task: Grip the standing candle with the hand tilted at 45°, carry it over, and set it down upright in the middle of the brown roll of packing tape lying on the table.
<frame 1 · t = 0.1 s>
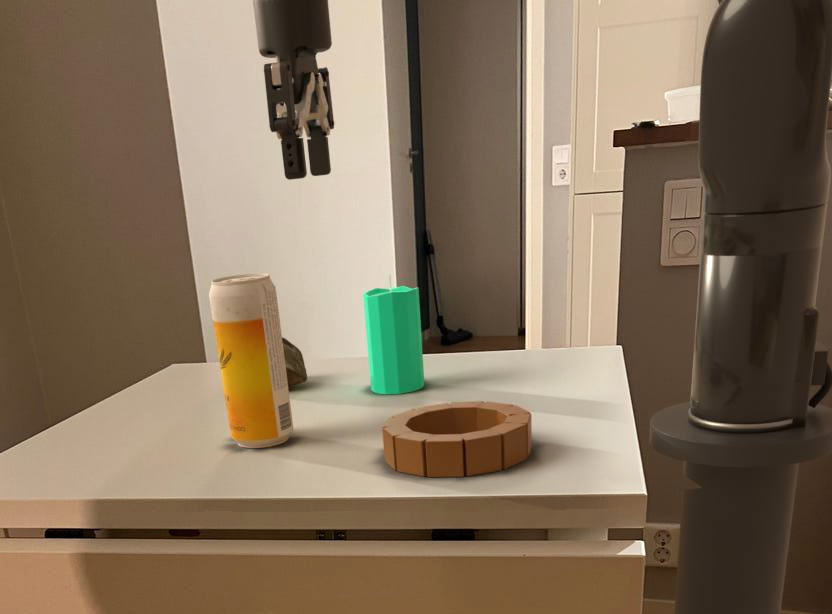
hand: (309, 177, 103), 22 cm above the table, tool pointing down, fingers open, 8 cm apart
beer can: (263, 442, 93), on the table
candle: (398, 389, 107), on the table
fossilized seashell: (273, 388, 114), on the table
tape roll: (457, 454, 83), on the table
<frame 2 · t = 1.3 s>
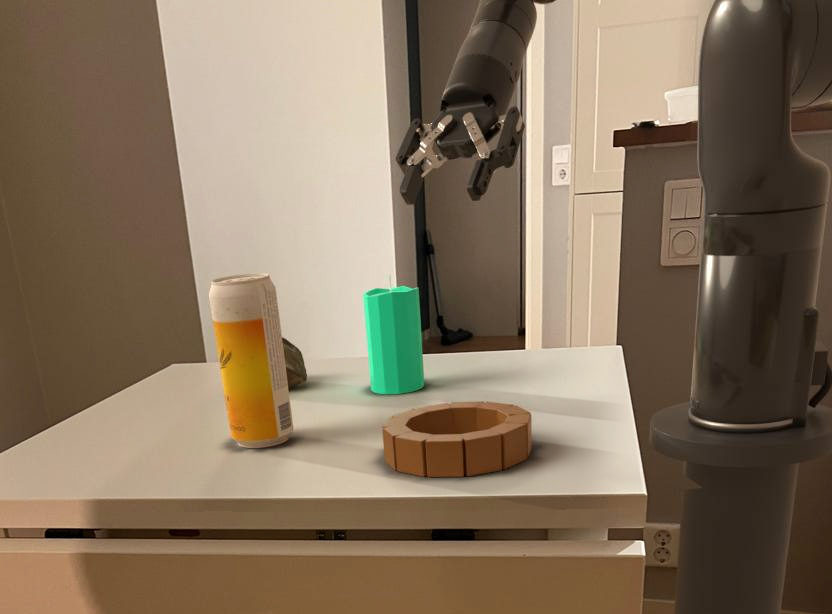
hand: (439, 197, 107), 18 cm above the table, tool tilted 45°, fingers open, 8 cm apart
nothing on the table moved.
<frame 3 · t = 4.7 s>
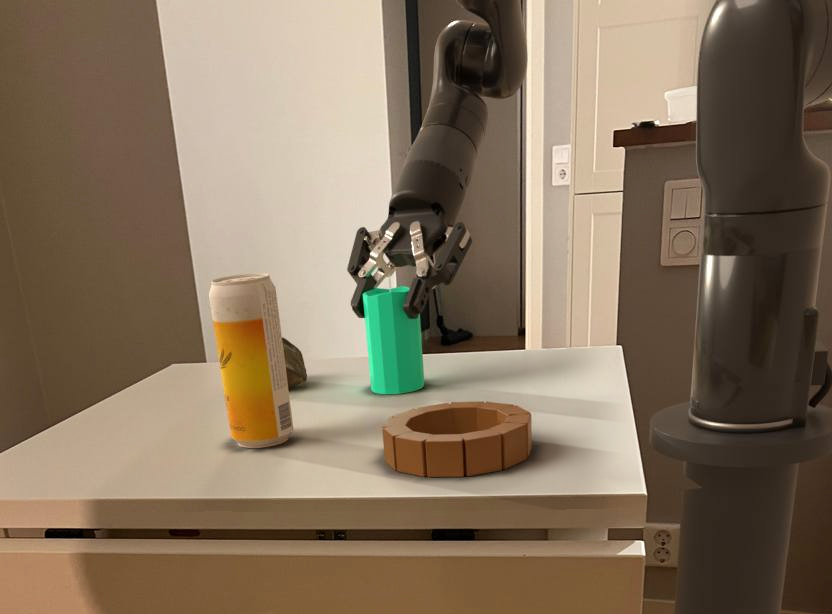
hand: (383, 313, 102), 8 cm above the table, tool tilted 45°, fingers closed on candle, 6 cm apart
candle: (398, 389, 107), on the table, touching gripper
everything else where it was.
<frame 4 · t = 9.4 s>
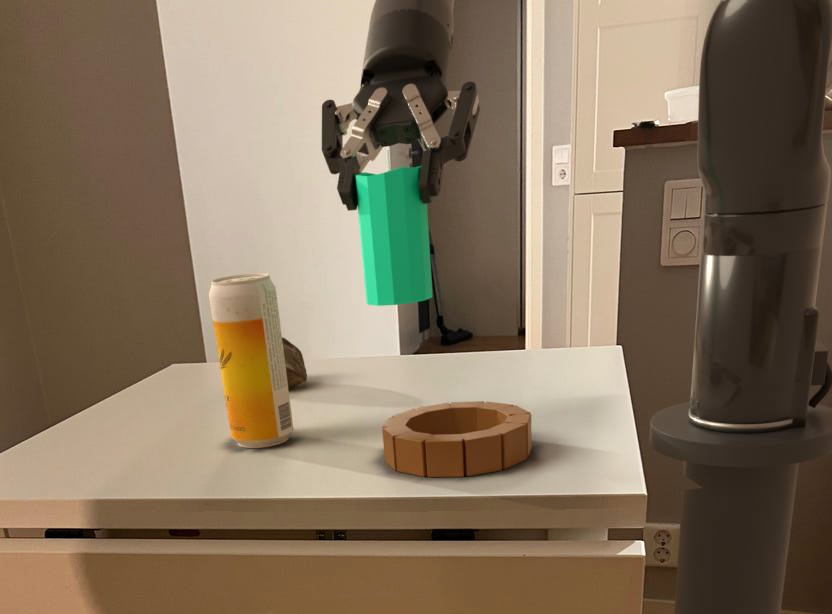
hand: (387, 199, 80), 20 cm above the table, tool tilted 45°, fingers closed on candle, 6 cm apart
candle: (399, 302, 85), point 12 cm above the table, touching gripper
everything else where it was.
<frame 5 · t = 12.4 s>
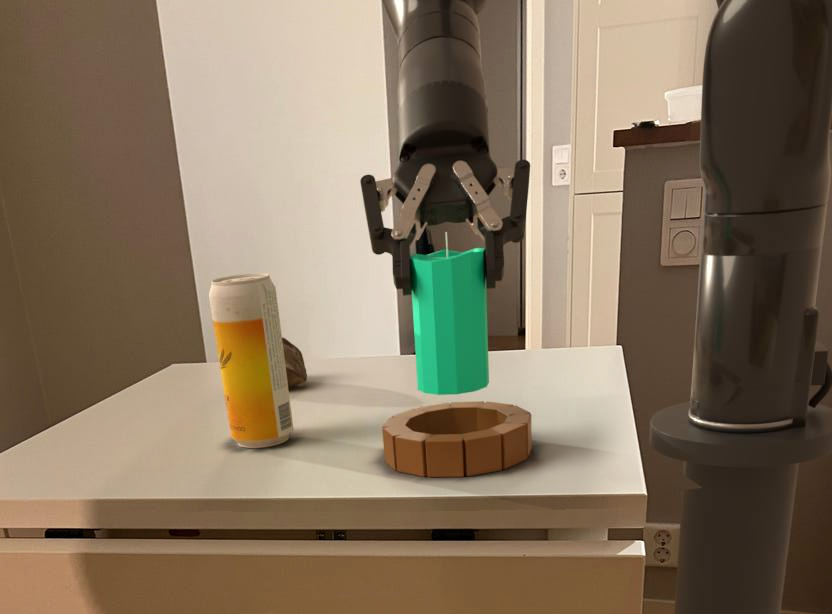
hand: (449, 285, 75), 14 cm above the table, tool tilted 45°, fingers closed on candle, 6 cm apart
candle: (453, 388, 80), point 6 cm above the table, touching gripper
everything else where it was.
when the fingers open (8 cm above the table, at t = 14.6 s): candle stays where it is, resting in tape roll.
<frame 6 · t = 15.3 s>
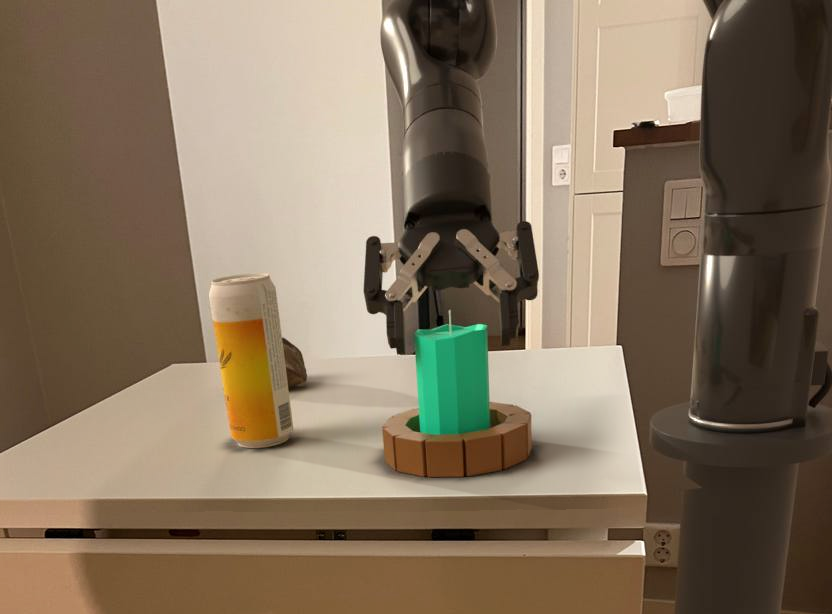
hand: (453, 344, 77), 10 cm above the table, tool tilted 45°, fingers open, 8 cm apart
candle: (456, 456, 83), resting in tape roll
everything else where it was.
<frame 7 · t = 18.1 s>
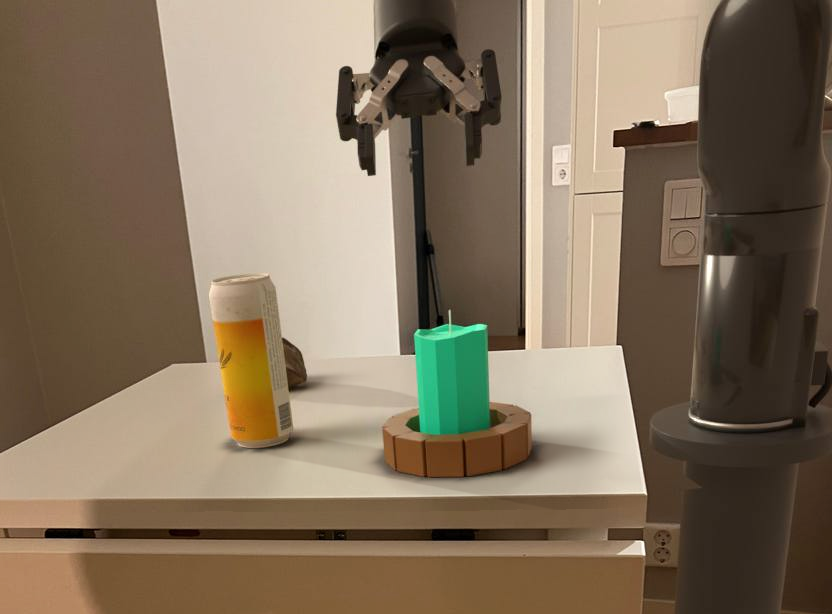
hand: (420, 163, 82), 23 cm above the table, tool tilted 45°, fingers open, 8 cm apart
nothing on the table moved.
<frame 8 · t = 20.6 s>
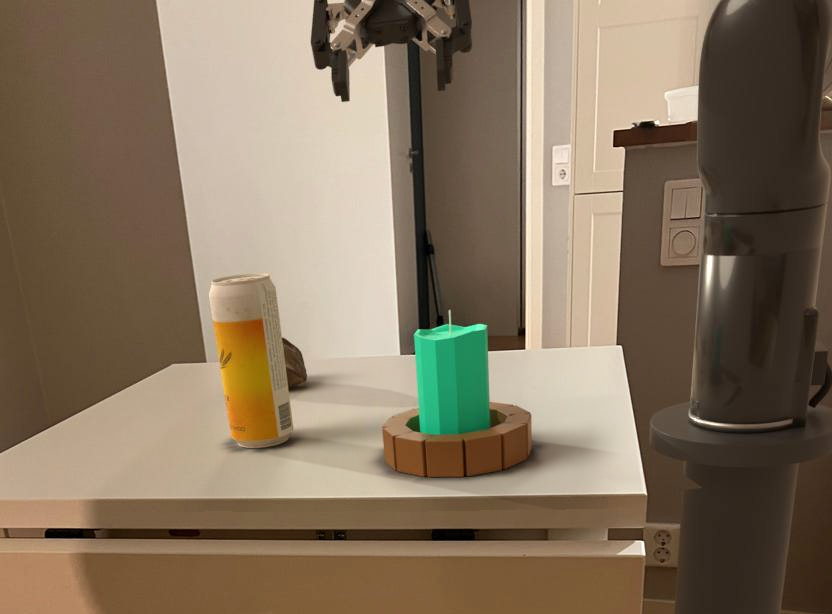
hand: (392, 88, 83), 29 cm above the table, tool tilted 45°, fingers open, 8 cm apart
nothing on the table moved.
at the end: candle 0.1 cm off-centre on the tape roll, point 0.0 cm above the tape roll's base; candle tilted 0°; the gripper is holding nothing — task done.
